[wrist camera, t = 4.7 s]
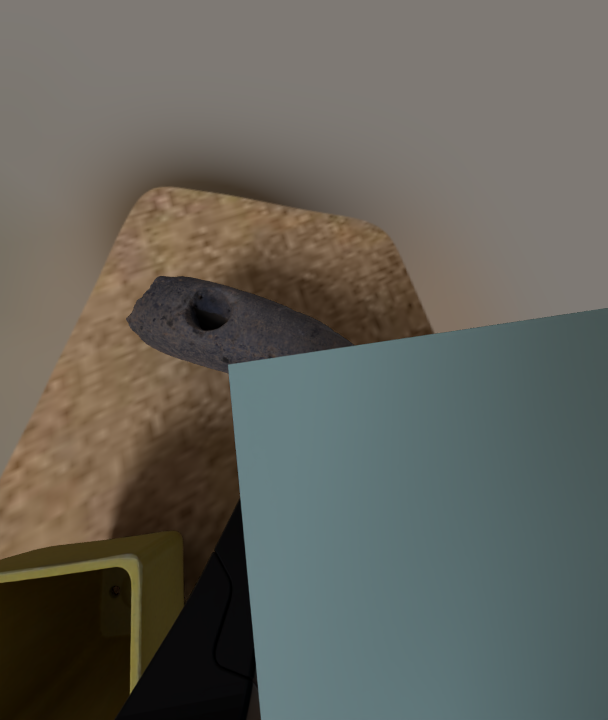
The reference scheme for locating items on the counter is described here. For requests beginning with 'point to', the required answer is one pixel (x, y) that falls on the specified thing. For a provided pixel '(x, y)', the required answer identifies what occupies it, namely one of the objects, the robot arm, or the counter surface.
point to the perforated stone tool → (223, 324)
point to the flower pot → (84, 624)
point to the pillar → (430, 524)
